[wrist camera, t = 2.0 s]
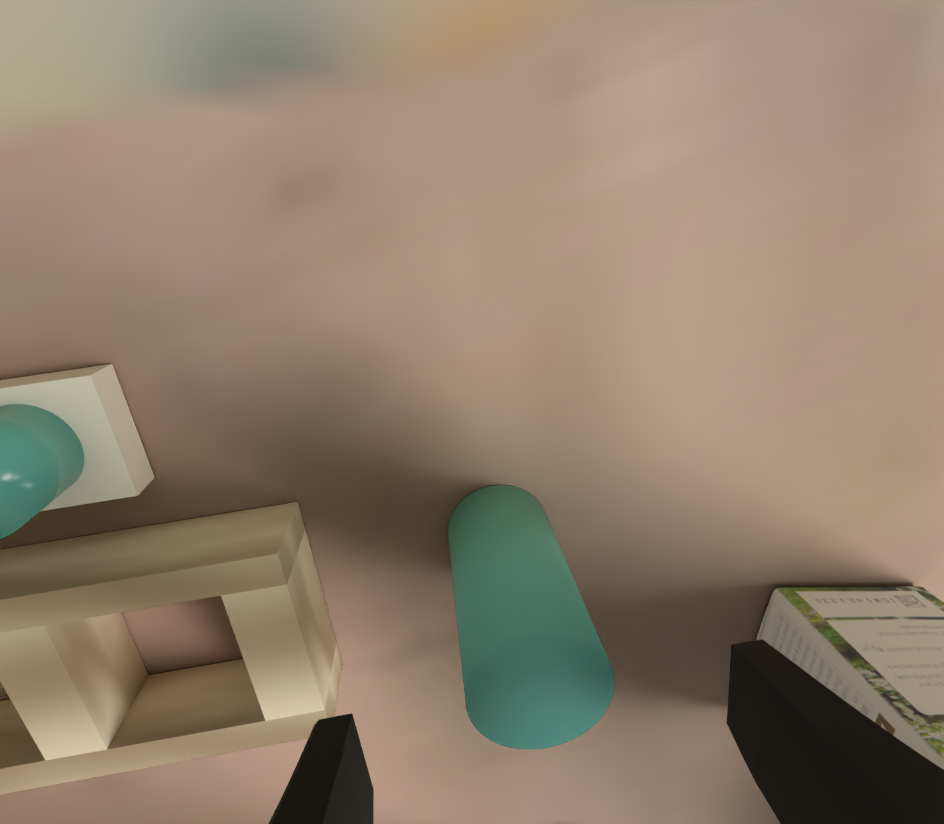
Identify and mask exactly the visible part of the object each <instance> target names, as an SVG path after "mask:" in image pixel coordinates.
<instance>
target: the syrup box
mask: <svg viewBox="0 0 944 824" xmlns="http://www.w3.org/2000/svg"><path fill="white" fill-rule="evenodd" d="M762 639H763V640H764V641H766V642H767V643H768V644H770V645H771V646H772V647H774V648H775V649H776V650H778V651H779V652H780V653H782V654H783V655H784V656H786V657H787V658H788V659H790V660H791V661H792V662H794V663H795V664H796V665H798V666H799V667H800V668H802V669H803V670H804V671H806V672H807V673H808V674H810V675H811V676H812V677H814V678H815V679H816V680H818V681H819V682H820V683H822V684H823V685H824V686H826V687H827V688H828V689H830V690H831V691H832V692H834V693H835V694H836V695H838V696H839V697H840V698H842V699H843V700H844V701H846V702H847V703H849V704H850V705H851V706H853V707H854V708H855V709H857V710H858V711H860V712H861V713H862V714H864V715H865V716H867V717H868V718H869V719H871V720H872V721H874V722H875V723H876V724H878V725H879V726H881V727H882V728H883V729H885V730H886V731H888V732H889V733H890V734H892V735H893V736H895V737H896V738H897V739H899V740H900V741H902V742H903V743H905V744H906V745H908V746H909V747H911V748H912V749H913V750H915V751H916V752H918V753H919V754H921V755H922V756H924V757H925V758H927V759H928V760H930V761H931V762H933V763H934V764H936V765H937V766H939V767H940V768H942V769H943V770H944V603H943V602H942V601H941V600H939V599H938V598H936V597H935V596H934V595H933V594H931V593H930V592H928V591H927V590H925V589H924V588H923V587H913V586H911V587H904V586H897V587H791V588H790V587H786V588H776V589H775V590H774V591H773V593H772V596H771V598H770V601H769V604H768V607H767V609H766V612H765V615H764V618H763V620H762V623H761V626H760V629H759V632H758V636H757V639H756V640H762Z"/></svg>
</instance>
